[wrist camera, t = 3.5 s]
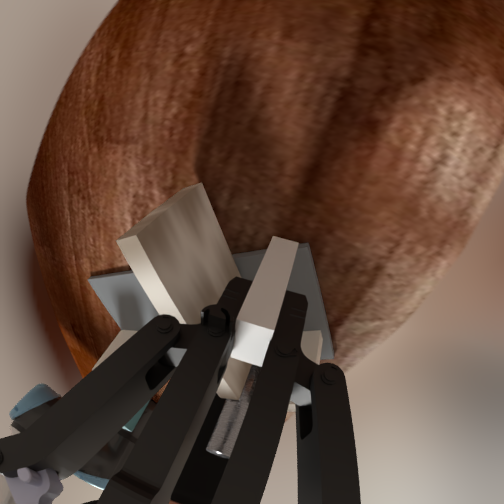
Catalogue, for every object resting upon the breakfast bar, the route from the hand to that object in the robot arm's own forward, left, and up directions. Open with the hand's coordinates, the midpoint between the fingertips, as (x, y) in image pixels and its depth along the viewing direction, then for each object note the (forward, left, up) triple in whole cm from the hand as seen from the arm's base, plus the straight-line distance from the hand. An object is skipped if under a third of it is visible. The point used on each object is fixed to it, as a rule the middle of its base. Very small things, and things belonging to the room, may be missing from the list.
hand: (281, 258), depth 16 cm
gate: (-5, -1, -2) cm, 5 cm away
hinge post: (-5, -9, -3) cm, 11 cm away
